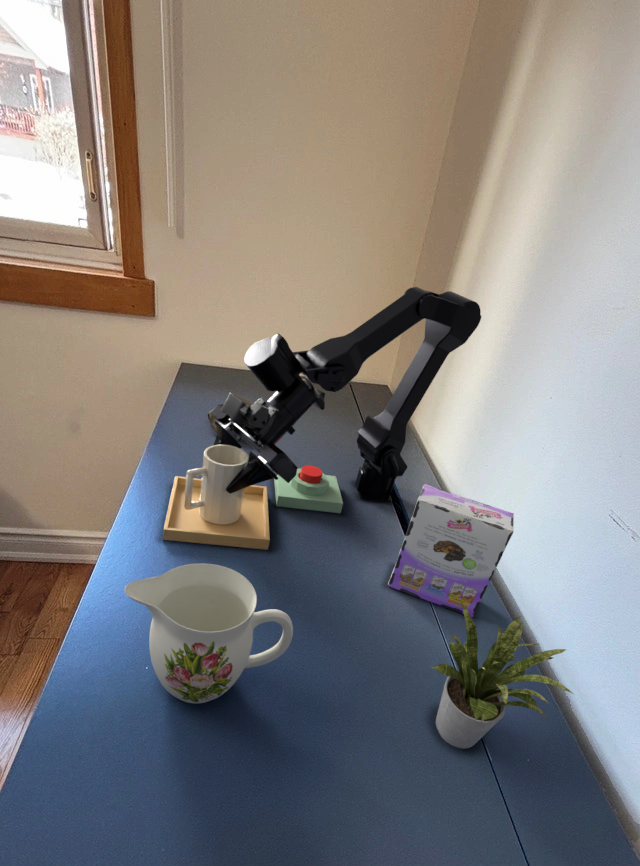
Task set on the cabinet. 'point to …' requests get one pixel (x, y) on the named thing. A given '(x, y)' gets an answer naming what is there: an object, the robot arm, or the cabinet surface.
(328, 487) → the switch base
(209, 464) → the tall mug
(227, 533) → the stand tray
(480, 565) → the candy box
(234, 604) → the pitcher
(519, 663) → the house plant
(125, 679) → the cabinet surface
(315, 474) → the switch button
